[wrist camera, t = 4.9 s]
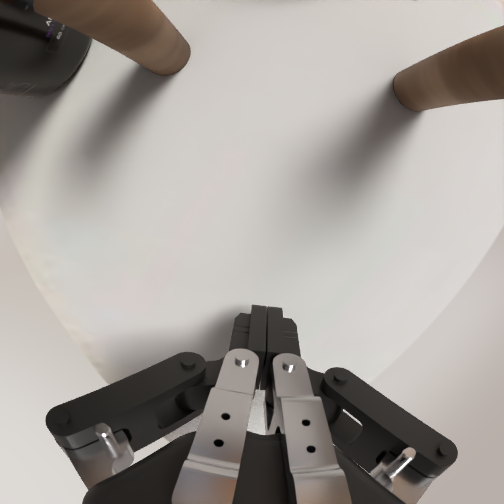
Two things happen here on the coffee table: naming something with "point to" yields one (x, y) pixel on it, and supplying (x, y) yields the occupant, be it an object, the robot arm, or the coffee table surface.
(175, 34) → the post
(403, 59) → the coffee table surface
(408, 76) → the post
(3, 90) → the supplement bottle
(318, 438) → the robot arm
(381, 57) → the coffee table surface
